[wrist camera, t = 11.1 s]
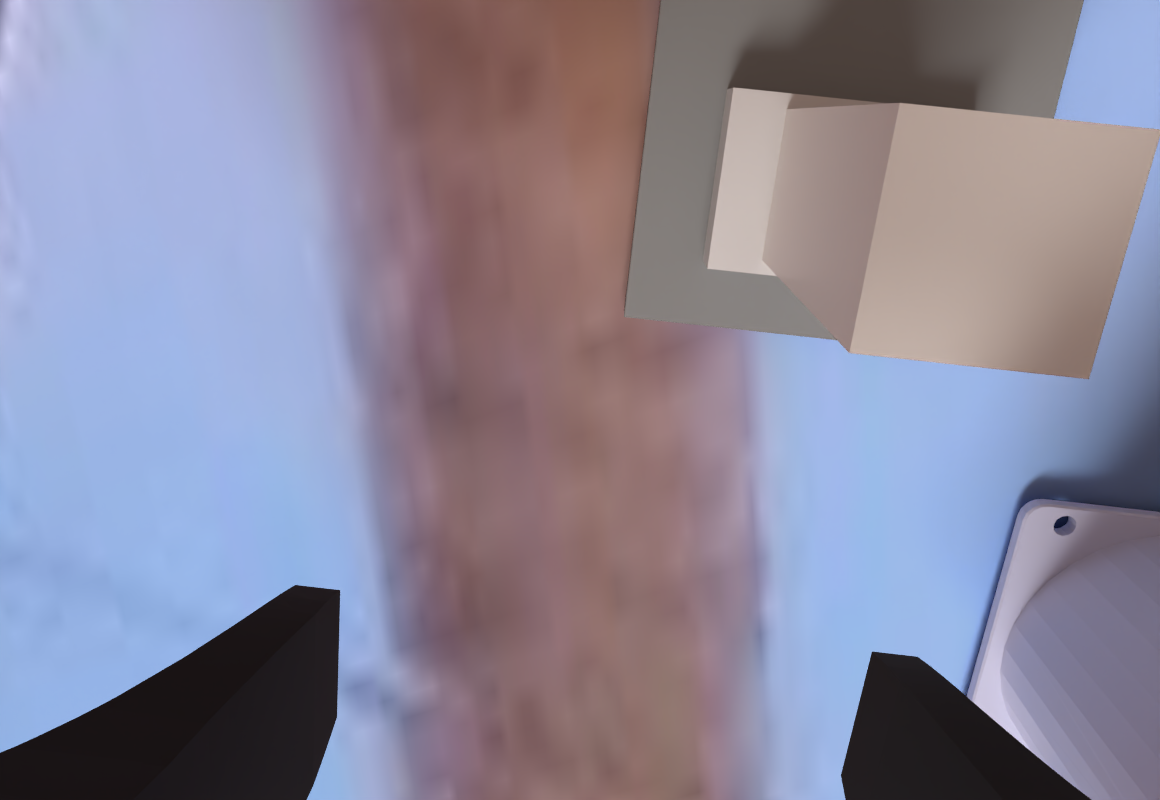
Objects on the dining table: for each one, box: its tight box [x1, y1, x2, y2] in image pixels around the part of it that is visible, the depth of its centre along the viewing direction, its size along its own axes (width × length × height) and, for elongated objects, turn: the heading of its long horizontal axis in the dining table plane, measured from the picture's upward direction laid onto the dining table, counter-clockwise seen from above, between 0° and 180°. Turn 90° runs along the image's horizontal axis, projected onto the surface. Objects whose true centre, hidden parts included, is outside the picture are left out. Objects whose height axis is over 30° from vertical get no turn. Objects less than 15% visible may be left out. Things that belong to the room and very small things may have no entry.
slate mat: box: [624, 0, 1084, 340], centre depth 19 cm, size 8×9×1 cm
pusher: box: [703, 88, 1160, 379], centre depth 15 cm, size 5×4×9 cm
